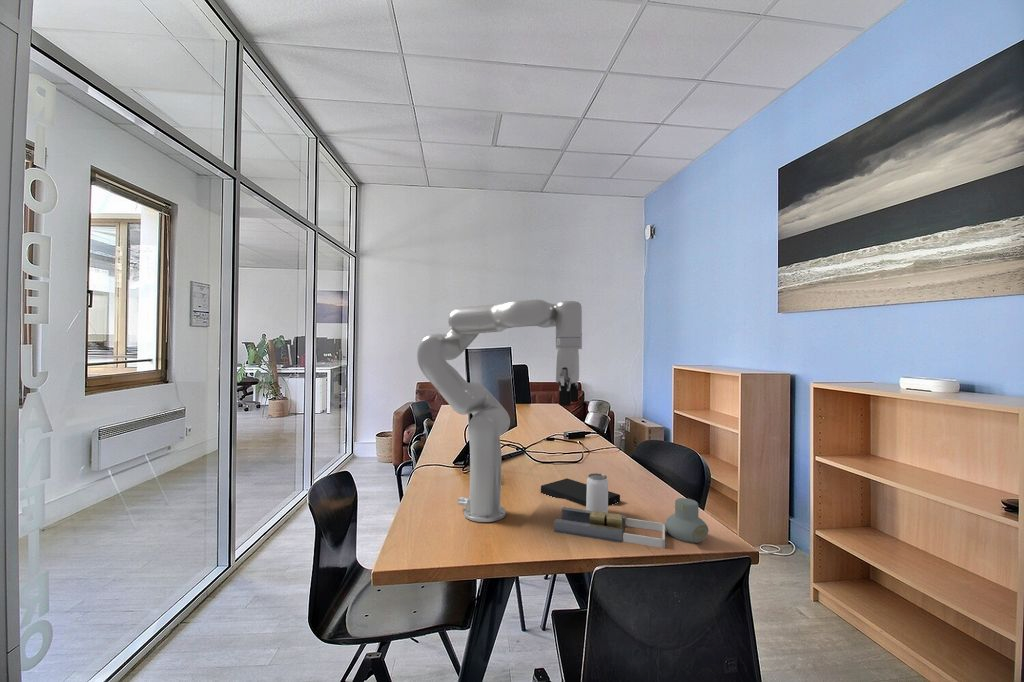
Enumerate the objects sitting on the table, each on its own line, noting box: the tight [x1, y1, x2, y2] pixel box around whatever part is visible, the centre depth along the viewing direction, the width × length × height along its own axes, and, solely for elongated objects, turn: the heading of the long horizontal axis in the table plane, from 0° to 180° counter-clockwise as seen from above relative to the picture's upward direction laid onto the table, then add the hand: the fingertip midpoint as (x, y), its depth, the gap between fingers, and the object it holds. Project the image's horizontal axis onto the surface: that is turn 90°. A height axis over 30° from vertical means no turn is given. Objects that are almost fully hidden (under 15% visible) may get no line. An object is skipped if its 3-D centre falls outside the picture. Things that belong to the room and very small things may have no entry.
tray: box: [622, 517, 666, 549], centre depth 115 cm, size 10×11×3 cm
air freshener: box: [664, 497, 709, 544], centre depth 116 cm, size 11×8×10 cm
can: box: [585, 472, 609, 513], centre depth 131 cm, size 6×6×12 cm
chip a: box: [590, 511, 606, 526], centre depth 119 cm, size 4×4×4 cm
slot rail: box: [553, 506, 627, 544], centre depth 119 cm, size 18×13×4 cm
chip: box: [606, 512, 622, 529], centre depth 117 cm, size 4×4×4 cm
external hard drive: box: [540, 478, 621, 508], centre depth 147 cm, size 14×23×3 cm, turn 41°
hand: (569, 403), depth 124 cm, fingers open, 9 cm apart
